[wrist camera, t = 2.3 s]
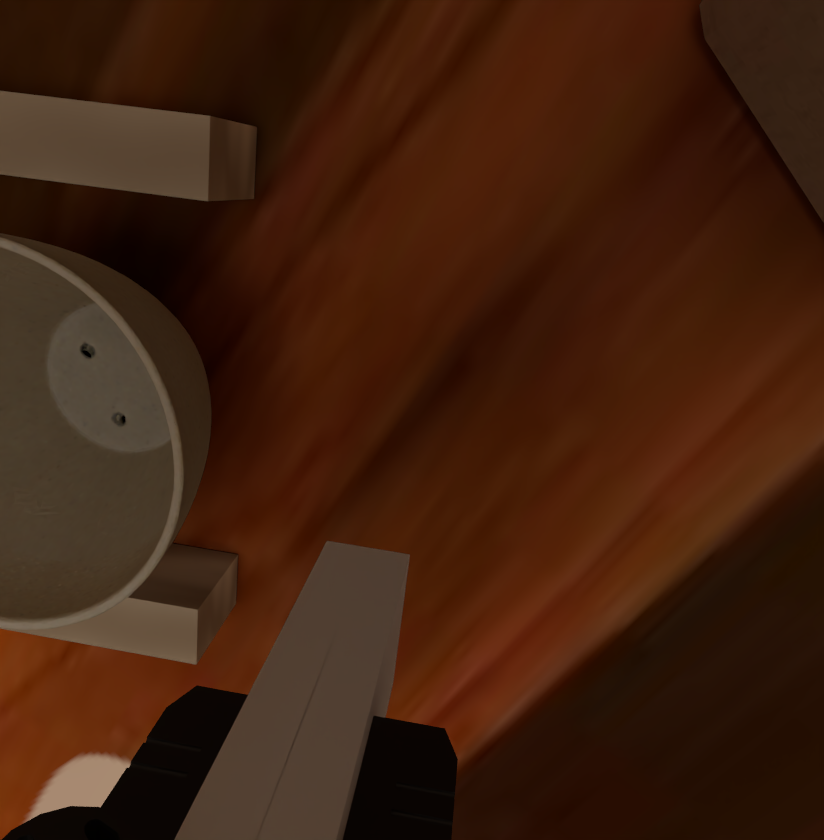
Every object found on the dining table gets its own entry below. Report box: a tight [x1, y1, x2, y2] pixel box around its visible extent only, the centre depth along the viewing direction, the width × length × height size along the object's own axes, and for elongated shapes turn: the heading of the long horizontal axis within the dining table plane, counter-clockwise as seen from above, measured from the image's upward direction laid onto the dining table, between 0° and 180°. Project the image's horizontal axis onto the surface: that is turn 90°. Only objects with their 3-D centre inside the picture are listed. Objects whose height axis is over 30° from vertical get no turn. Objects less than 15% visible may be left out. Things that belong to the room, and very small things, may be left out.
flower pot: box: [0, 233, 211, 630], centre depth 20 cm, size 10×10×7 cm
